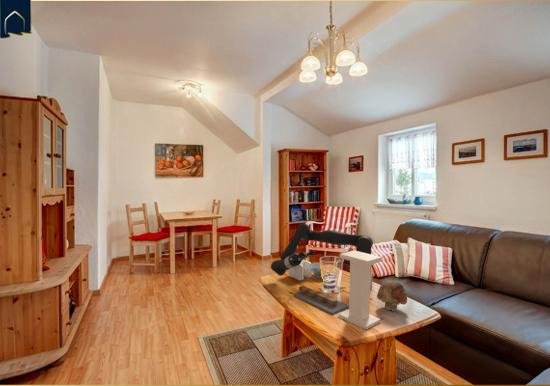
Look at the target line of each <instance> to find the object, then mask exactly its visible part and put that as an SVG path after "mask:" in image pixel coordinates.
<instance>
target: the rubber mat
mask: <svg viewBox="0 0 550 386" xmlns="http://www.w3.org/2000/svg"><path fill="white" fill-rule="evenodd" d="M310 289H311V288H310ZM311 290H313V289H311ZM292 296H293V297H295V298H297V299H299V300H301V301H303V302H306V303H307V304H309V305H311V306H313V307H315V308H318V309H320V310H321V311H324V312H325V313H328V314H330V315H331V316H333V315H336V314H339V313H341V312H343V311H346V310H348V309H349V304H347V303H344V302H342V301H339V300H337V306H335V307H332V306H330V305H328V304H326V303H323V302H321V301H319V300H316V299H314V298H312V297H310V296H307V295H305V294H303V293H300V292H299V291H298V292H296V293H293V294H292Z"/></svg>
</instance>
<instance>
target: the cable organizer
mask: <svg viewBox="0 0 550 386" xmlns="http://www.w3.org/2000/svg"><path fill="white" fill-rule="evenodd" d="M311 264H312V262H311V261H309V260H306V259H304V260H302V262H301V264H299V265H297V266H295V267H293V268H290V269H288V270H287V274H288V276H289V277H291V278H292V279H296V280H297V281H303V280H304V279H305V278H307V279H309V278H311V277H312V271H311V267H312V265H311ZM304 277H305V278H304Z"/></svg>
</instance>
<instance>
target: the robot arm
mask: <svg viewBox="0 0 550 386" xmlns="http://www.w3.org/2000/svg"><path fill="white" fill-rule="evenodd" d="M301 240H304V241H313V242H320V243H324V244H330V245H334V246H353V247H355V248H356V249H355V251H359V252H363V253H367V254H371V255H372V247H373V246H374V245H373V244H374V240H373V239H372V237H370V236H368V235H365V234H364V235H362V234H352V233H347V232H342V231H339V230H332V229H331V230H330V229H326V230H322V231H316V230H312V229H310V226H309V225H308V224H307V223H304V222H303V223H300V224H299V225H298V226H297V227H296V230H295V231H294V233H293V235H292V237H291V239H290V241H289V243H288V245H287V246H286V247H285V249H284V251H282V253H281V255H280V256H279V258H280V259H276V260H274V261H272V262H271V264H270V269H271V270H272V272H274V273H275V274H277V275H278V276H280V277H282V276H283V275H285V273H286V272H287V271H288V269H290V268H293V267H295V266H297V265H299V264H301V262H302V260H306V259H308V258H310V257H313V255H315V253H316V252H315V249H312V250H310V251H308V252H304V251H303V252H300V253H297V252H296V251H297V248H298V245H299V244H300V242H301ZM372 265H373V264H371V270H372V269H373V268H372ZM372 288H373V272H371V274H370V290H371V289H372Z"/></svg>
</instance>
